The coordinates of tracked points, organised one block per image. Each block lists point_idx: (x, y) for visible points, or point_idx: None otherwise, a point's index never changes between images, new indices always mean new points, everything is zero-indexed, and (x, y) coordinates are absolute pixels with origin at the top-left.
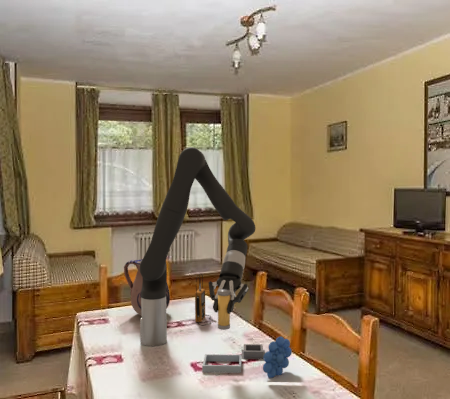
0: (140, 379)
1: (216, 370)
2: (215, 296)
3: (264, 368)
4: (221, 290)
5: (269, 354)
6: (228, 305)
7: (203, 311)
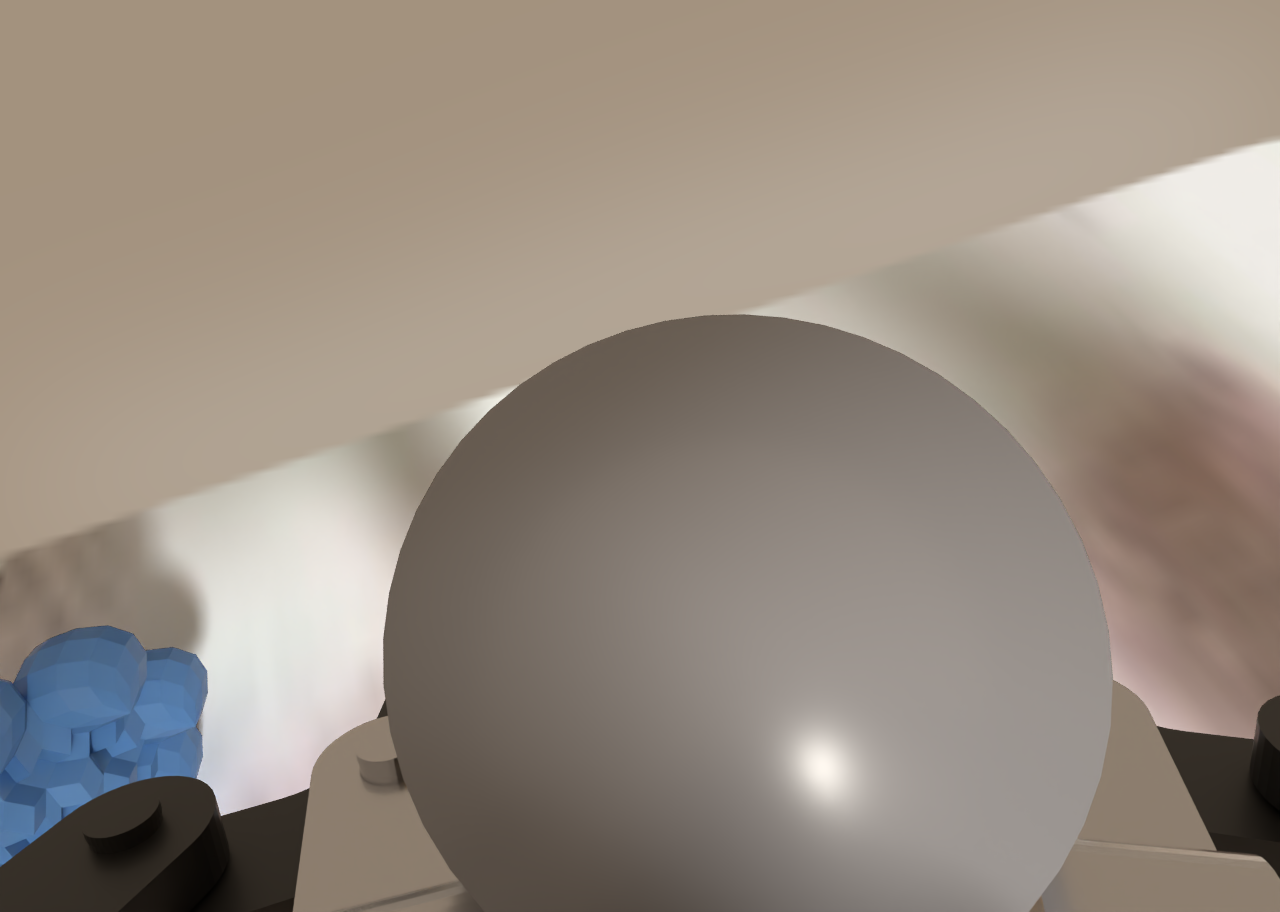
0: (1241, 371)
1: None
2: (1128, 720)
3: (180, 650)
4: (874, 572)
5: (40, 644)
6: None
7: None
